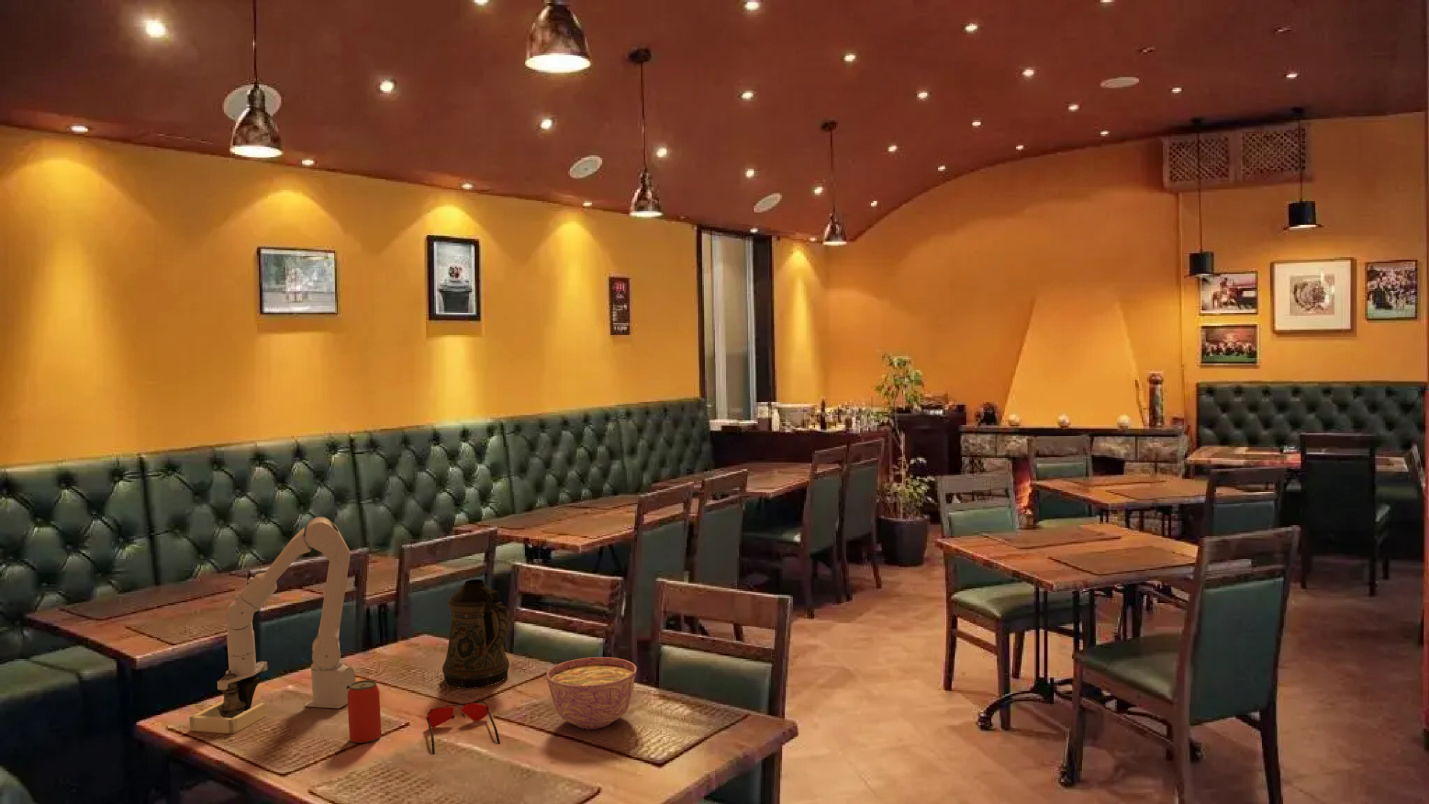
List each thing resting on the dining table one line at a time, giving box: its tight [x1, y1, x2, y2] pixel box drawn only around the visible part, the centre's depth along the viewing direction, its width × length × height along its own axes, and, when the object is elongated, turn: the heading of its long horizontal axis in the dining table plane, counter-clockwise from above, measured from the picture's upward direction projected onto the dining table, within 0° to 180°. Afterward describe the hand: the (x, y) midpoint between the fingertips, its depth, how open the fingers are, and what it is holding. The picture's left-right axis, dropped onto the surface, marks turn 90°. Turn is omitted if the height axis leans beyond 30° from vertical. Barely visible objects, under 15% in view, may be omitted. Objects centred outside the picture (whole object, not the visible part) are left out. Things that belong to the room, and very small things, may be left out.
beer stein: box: [441, 578, 512, 689], centre depth 258 cm, size 16×19×25 cm
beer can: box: [347, 679, 382, 744], centre depth 220 cm, size 7×7×12 cm
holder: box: [188, 700, 267, 735], centre depth 232 cm, size 11×11×3 cm
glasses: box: [425, 701, 501, 755], centre depth 221 cm, size 14×16×5 cm
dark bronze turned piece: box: [218, 669, 246, 718], centre depth 233 cm, size 6×6×12 cm
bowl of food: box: [545, 656, 638, 730], centre depth 226 cm, size 20×20×12 cm
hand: (245, 710), depth 238 cm, fingers closed
